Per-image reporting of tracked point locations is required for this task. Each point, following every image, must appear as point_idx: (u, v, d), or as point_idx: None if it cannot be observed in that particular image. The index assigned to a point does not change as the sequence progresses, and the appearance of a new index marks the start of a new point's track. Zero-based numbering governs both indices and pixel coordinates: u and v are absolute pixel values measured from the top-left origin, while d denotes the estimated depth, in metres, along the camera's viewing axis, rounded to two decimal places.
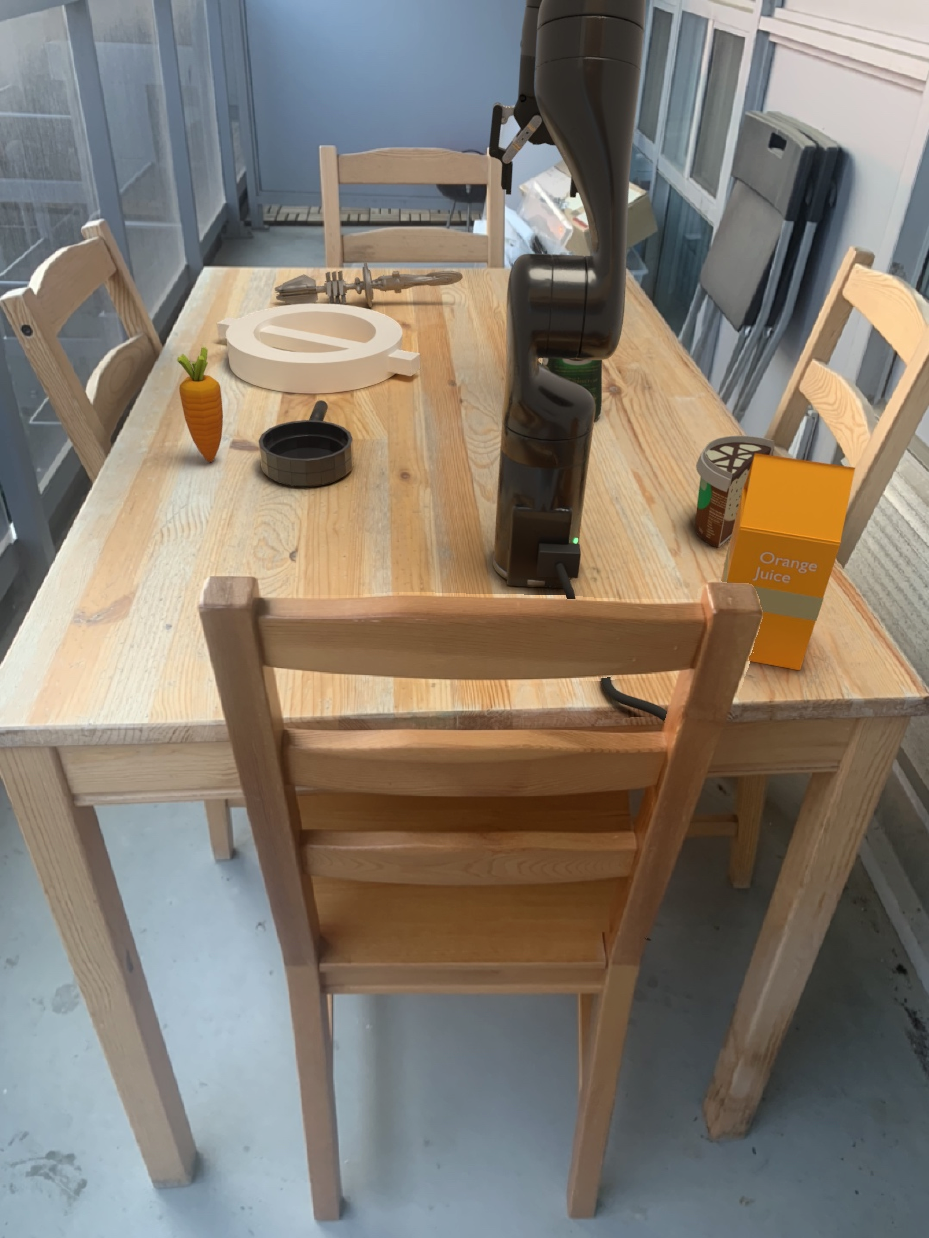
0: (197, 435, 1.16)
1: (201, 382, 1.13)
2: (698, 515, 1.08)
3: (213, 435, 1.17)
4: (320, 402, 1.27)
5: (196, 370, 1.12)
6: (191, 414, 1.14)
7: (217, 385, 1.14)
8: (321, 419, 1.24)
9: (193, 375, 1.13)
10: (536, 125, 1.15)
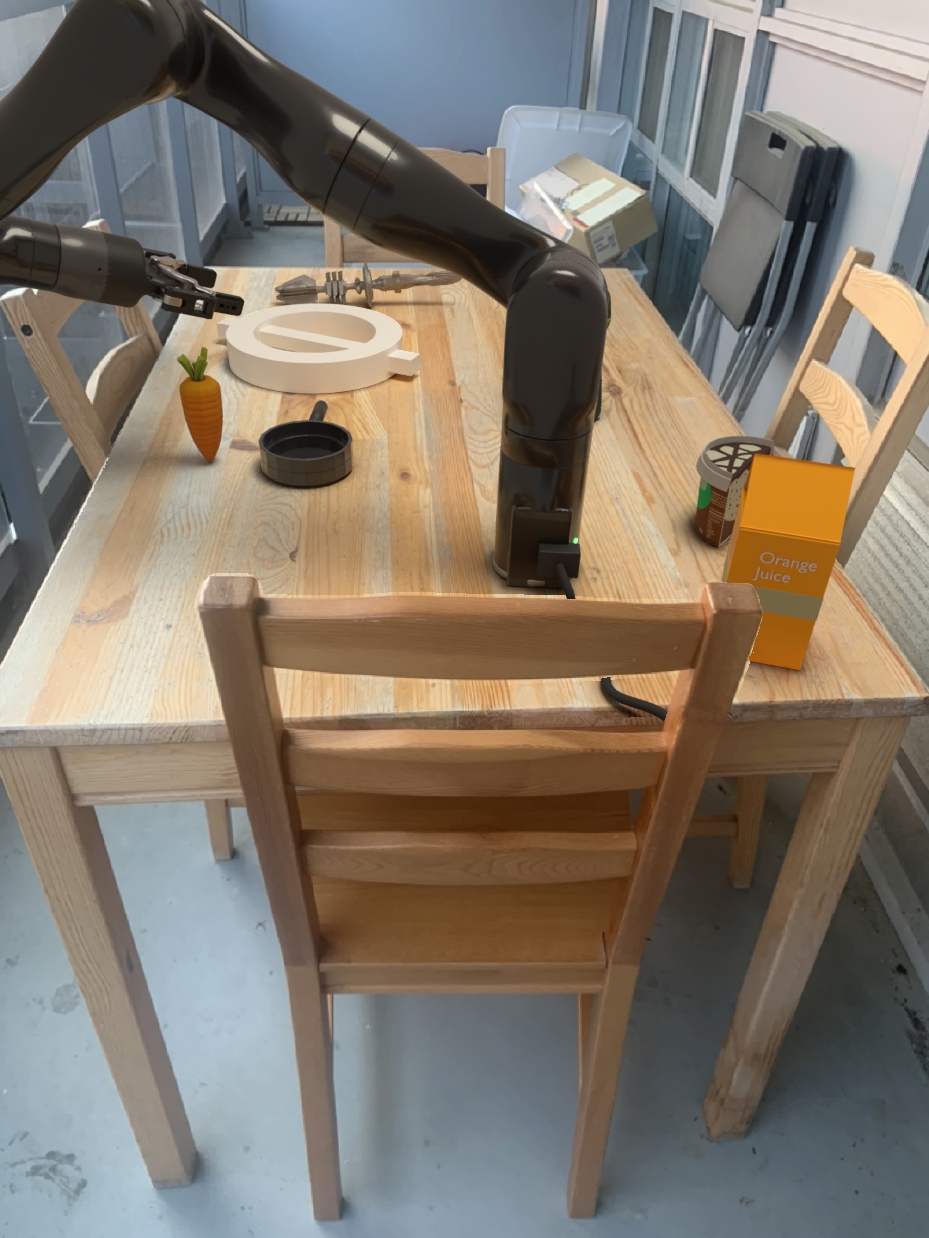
0: (197, 435, 1.16)
1: (201, 382, 1.13)
2: (698, 515, 1.08)
3: (213, 435, 1.17)
4: (320, 402, 1.27)
5: (196, 370, 1.12)
6: (191, 414, 1.14)
7: (217, 385, 1.14)
8: (321, 419, 1.24)
9: (193, 375, 1.13)
10: (168, 267, 1.05)
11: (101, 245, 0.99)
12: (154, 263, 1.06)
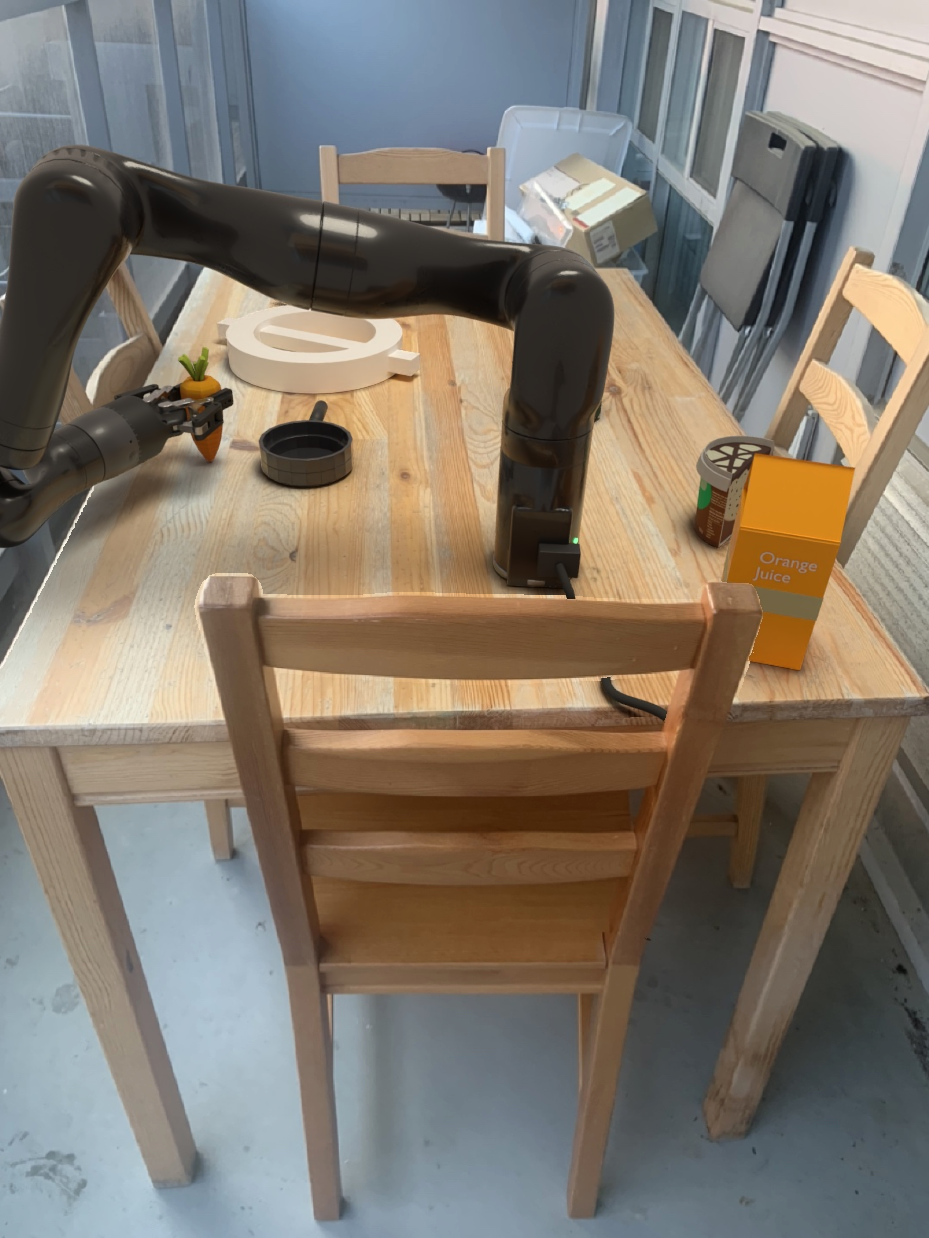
0: None
1: (202, 382, 1.13)
2: (698, 515, 1.08)
3: (213, 435, 1.17)
4: (320, 402, 1.27)
5: (197, 370, 1.12)
6: None
7: (218, 385, 1.14)
8: (321, 419, 1.24)
9: (194, 375, 1.13)
10: (166, 403, 1.08)
11: (119, 419, 1.02)
12: (149, 405, 1.09)
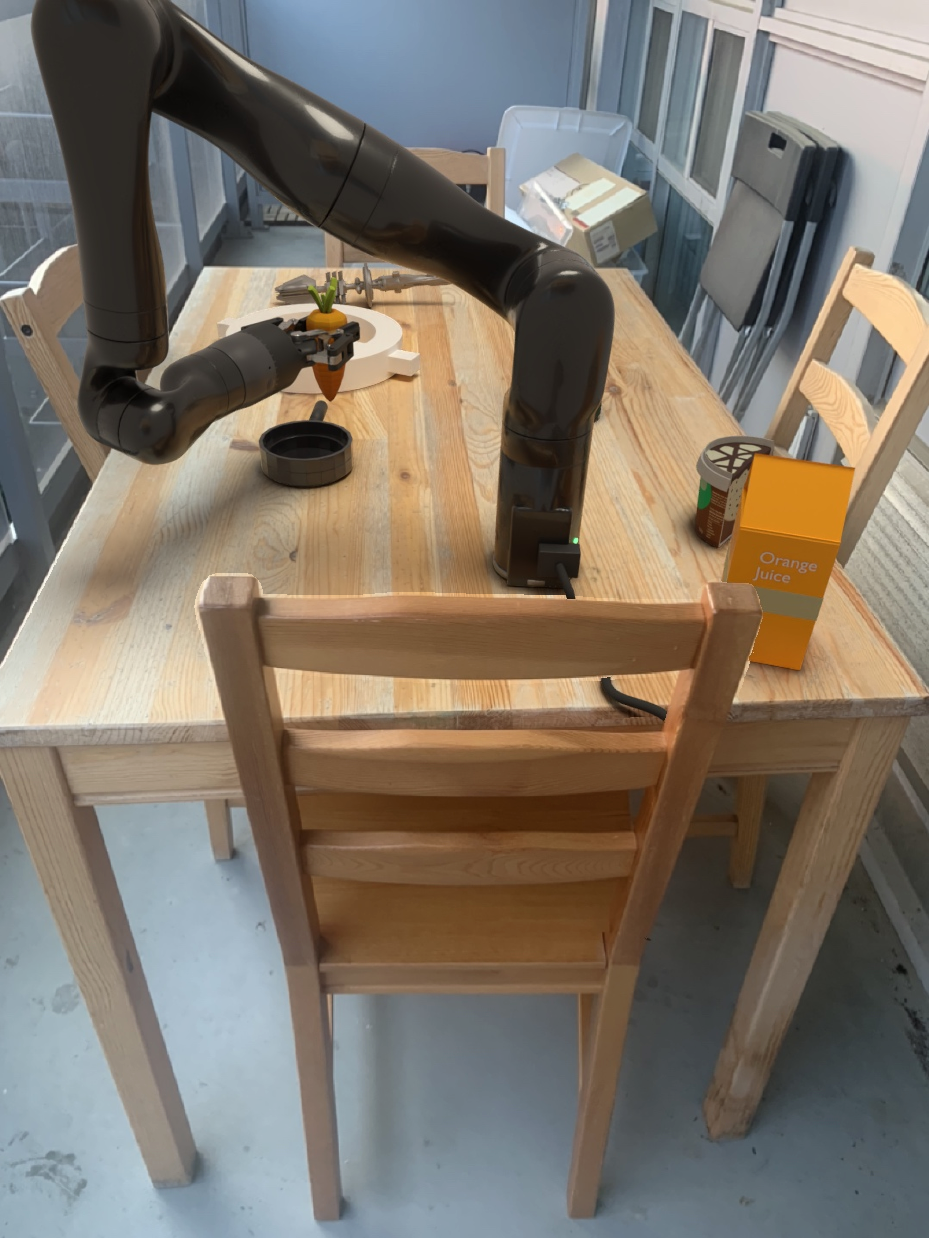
0: (321, 371, 1.12)
1: (330, 314, 1.08)
2: (698, 515, 1.08)
3: (337, 372, 1.12)
4: (320, 402, 1.27)
5: (326, 301, 1.08)
6: None
7: (345, 318, 1.10)
8: (321, 419, 1.24)
9: (322, 307, 1.08)
10: (298, 332, 1.04)
11: (258, 344, 0.97)
12: None
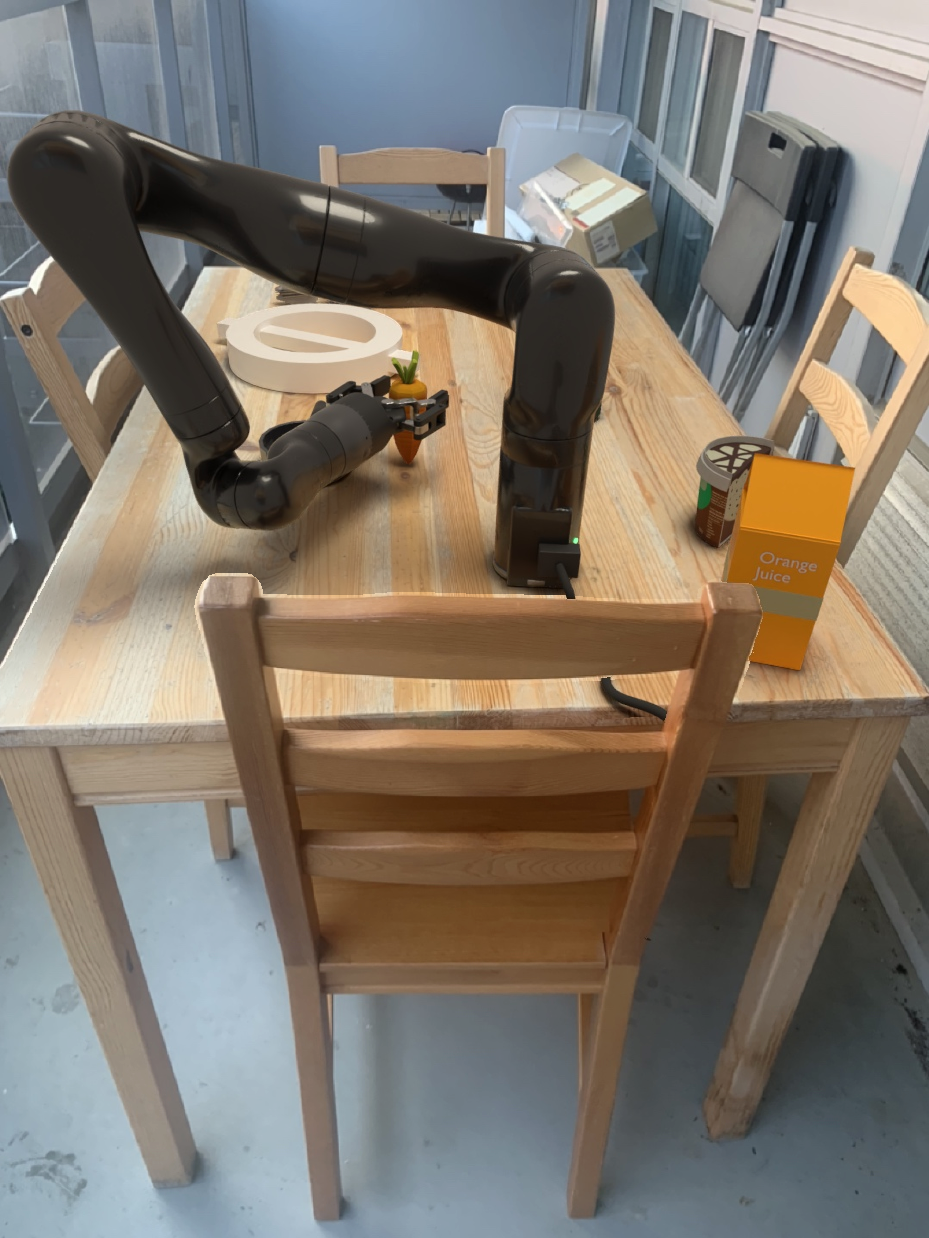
0: (402, 437, 1.17)
1: (412, 385, 1.14)
2: (698, 515, 1.08)
3: None
4: (320, 402, 1.27)
5: (409, 373, 1.13)
6: None
7: (425, 388, 1.16)
8: None
9: (404, 378, 1.14)
10: (388, 400, 1.09)
11: (356, 416, 1.03)
12: None
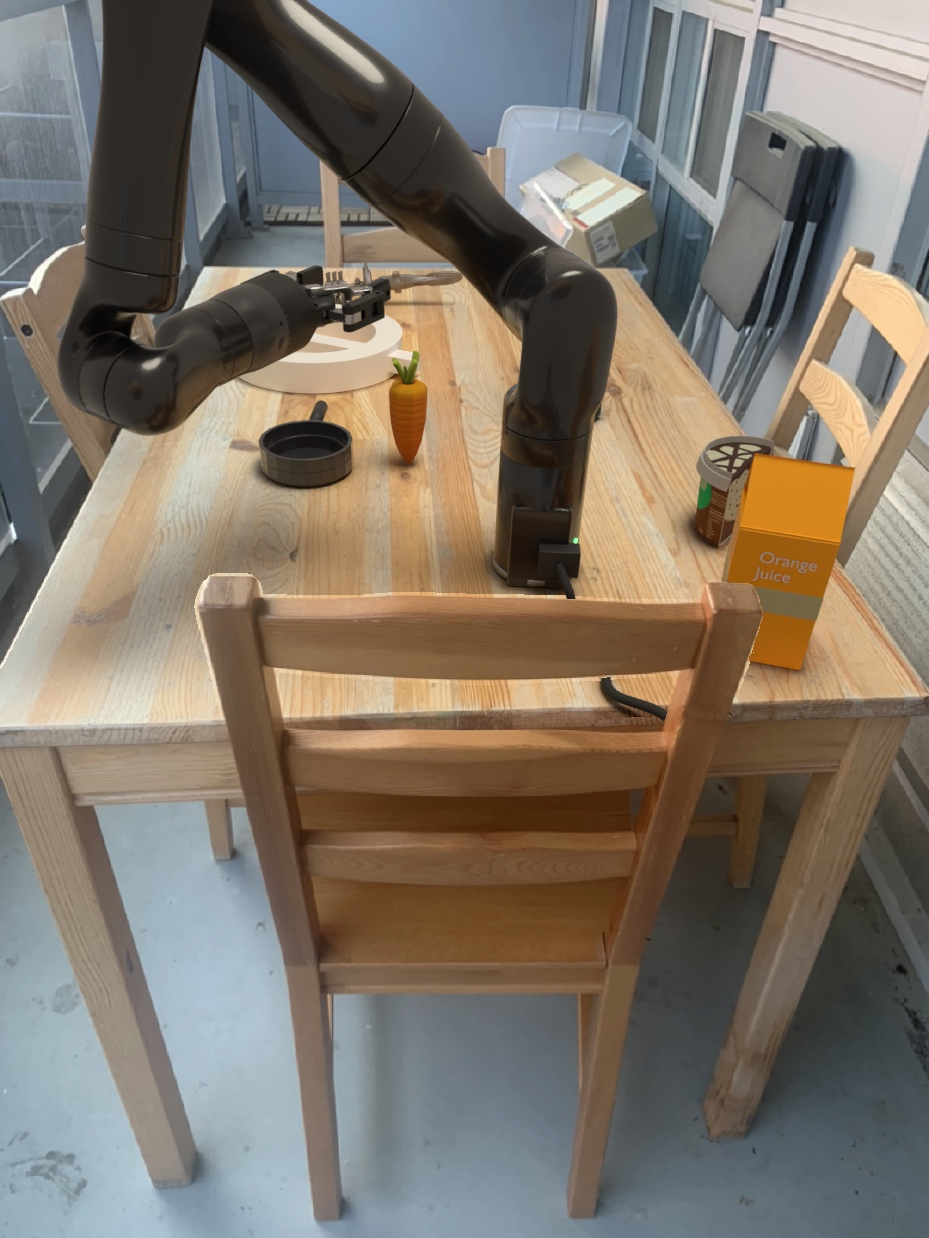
0: (402, 437, 1.17)
1: (412, 385, 1.14)
2: (698, 515, 1.08)
3: (417, 438, 1.18)
4: (320, 402, 1.27)
5: (409, 373, 1.13)
6: (400, 417, 1.16)
7: (425, 388, 1.16)
8: (321, 419, 1.24)
9: (405, 378, 1.14)
10: (314, 285, 0.90)
11: (268, 296, 0.83)
12: None
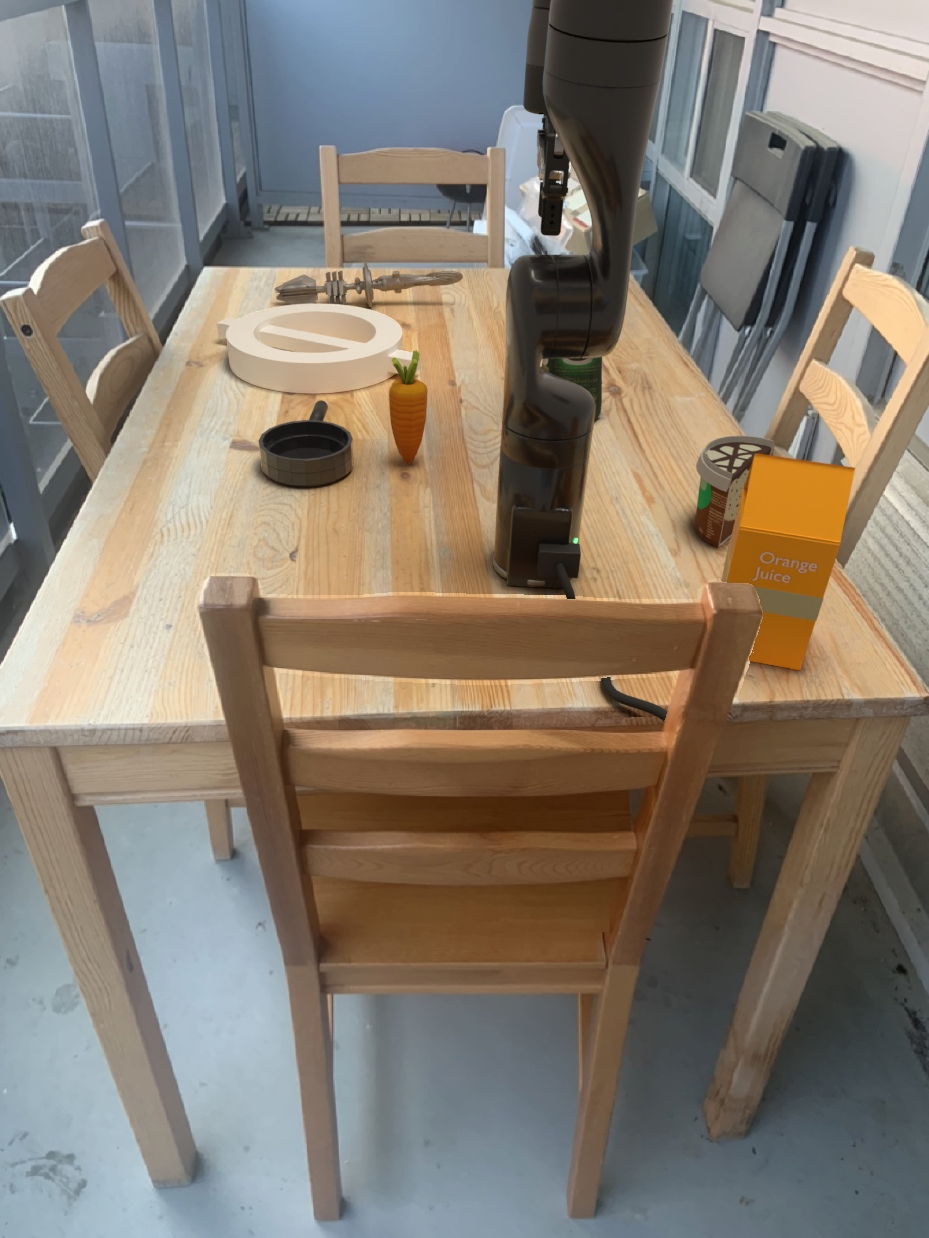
0: (402, 437, 1.17)
1: (412, 385, 1.14)
2: (698, 515, 1.08)
3: (417, 438, 1.18)
4: (320, 402, 1.27)
5: (409, 373, 1.13)
6: (400, 417, 1.16)
7: (425, 388, 1.16)
8: (321, 419, 1.24)
9: (405, 378, 1.14)
10: None
11: None
12: None
